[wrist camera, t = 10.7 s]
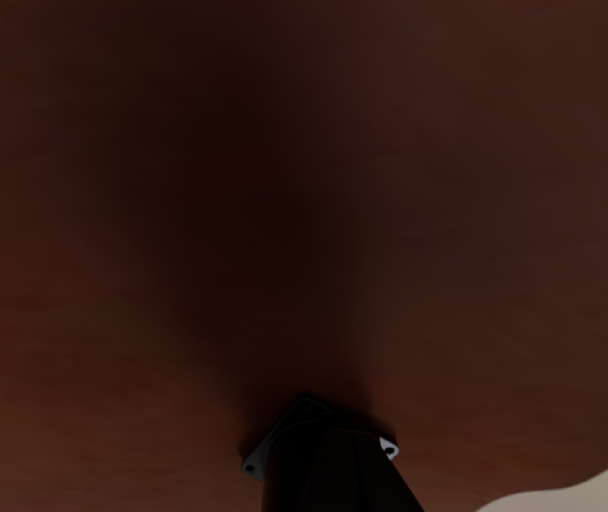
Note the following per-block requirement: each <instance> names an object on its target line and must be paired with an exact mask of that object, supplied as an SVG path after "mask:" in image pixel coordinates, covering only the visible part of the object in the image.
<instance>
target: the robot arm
mask: <svg viewBox="0 0 608 512" xmlns="http://www.w3.org/2000/svg"><path fill="white" fill-rule="evenodd" d="M304 402H307V403H309V404H303V403H304ZM389 447H391V448H389ZM398 452H399V447H398V443H397V441H396V440H394V439H393V438H391V437H389V436H387V435H385V434H383V433H381V432H380V431H378V430H377V429H375V428H373V427H371V426H369V425H368V424H366V423H364V422H362V421H360V420H358V419H357V418H355V417H353V416H351V415H349V414H347V413H345V412H344V411H341V410H339V409H337V408H335V407H333V406H331V405H330V404H328V403H326V402H324V401H322V400H320V399H318V398H317V397H315V396H313V395H311V394H308V393H303V394H300V395H299V396H298V397H297V398H296V399H295V400H294V401H293V402H292V403H291V405H290V406H289V407H288V408H287V409H286V410H285V411H284V413H283V414H282V415H281V416H280V417H279V418H278V419H277V420H276V422H275V423H274V424H273V425H272V426H271V427H270V428H269V430H268V431H267V432H266V433H265V434H264V435H263V436H262V438H261V439H260V440H259V441H258V442H257V443H256V444H255V446H254V447H253V448H252V449H251V450H250V451H249V452H248V453H247V455H246V456H245V457H244V458H243V460H242V463H241V470H242V471H243V472H244V473H245V474H248V475H250V476H252V477H254V478H256V479H258V480H260V481H262V482H264V486H263V495H262V505H261V512H425V511H424V510H423V508H422V507H421V505H420V504H419V502H418V501H417V499H416V498H415V496H414V495H413V493H412V492H411V490H410V489H409V487H408V486H407V484H406V483H405V481H404V480H403V478H402V477H401V475H400V474H399V472H398V471H397V469H396V468H395V466H394V465H393V463H392V461H391V460H392V459H393V458H394V457H395V456H396V455H397V454H398ZM250 465H251V466H250Z"/></svg>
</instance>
